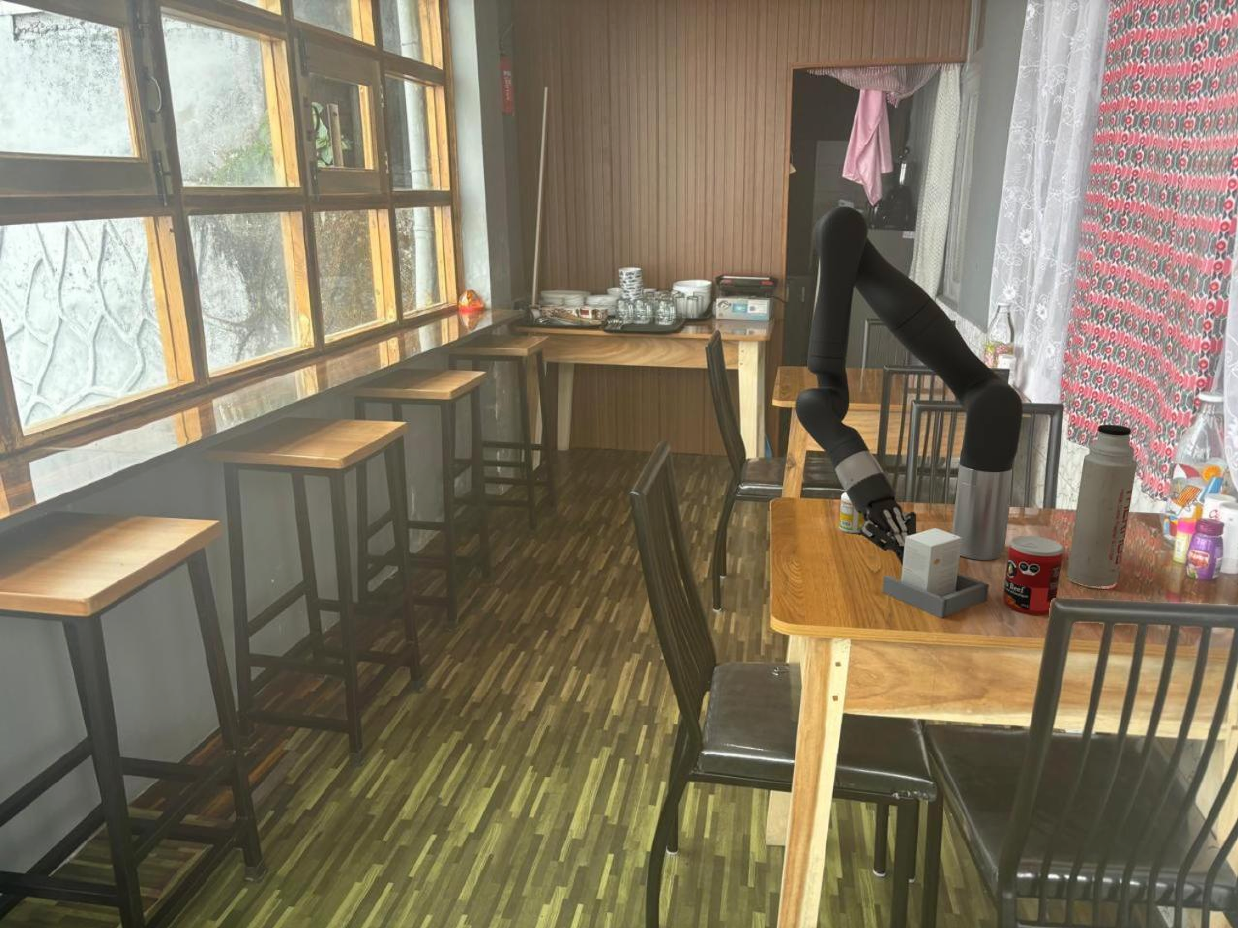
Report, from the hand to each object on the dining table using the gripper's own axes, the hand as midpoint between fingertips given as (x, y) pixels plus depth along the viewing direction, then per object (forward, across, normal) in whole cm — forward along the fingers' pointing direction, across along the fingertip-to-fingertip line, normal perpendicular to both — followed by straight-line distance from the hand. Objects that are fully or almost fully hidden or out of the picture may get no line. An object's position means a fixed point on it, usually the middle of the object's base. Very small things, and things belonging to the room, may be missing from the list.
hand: (913, 567), depth 156 cm
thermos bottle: (+14, +29, -8) cm, 33 cm away
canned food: (+14, +10, -8) cm, 19 cm away
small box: (+5, 0, 0) cm, 5 cm away
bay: (+6, 0, 0) cm, 6 cm away
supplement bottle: (-16, +14, +22) cm, 30 cm away
